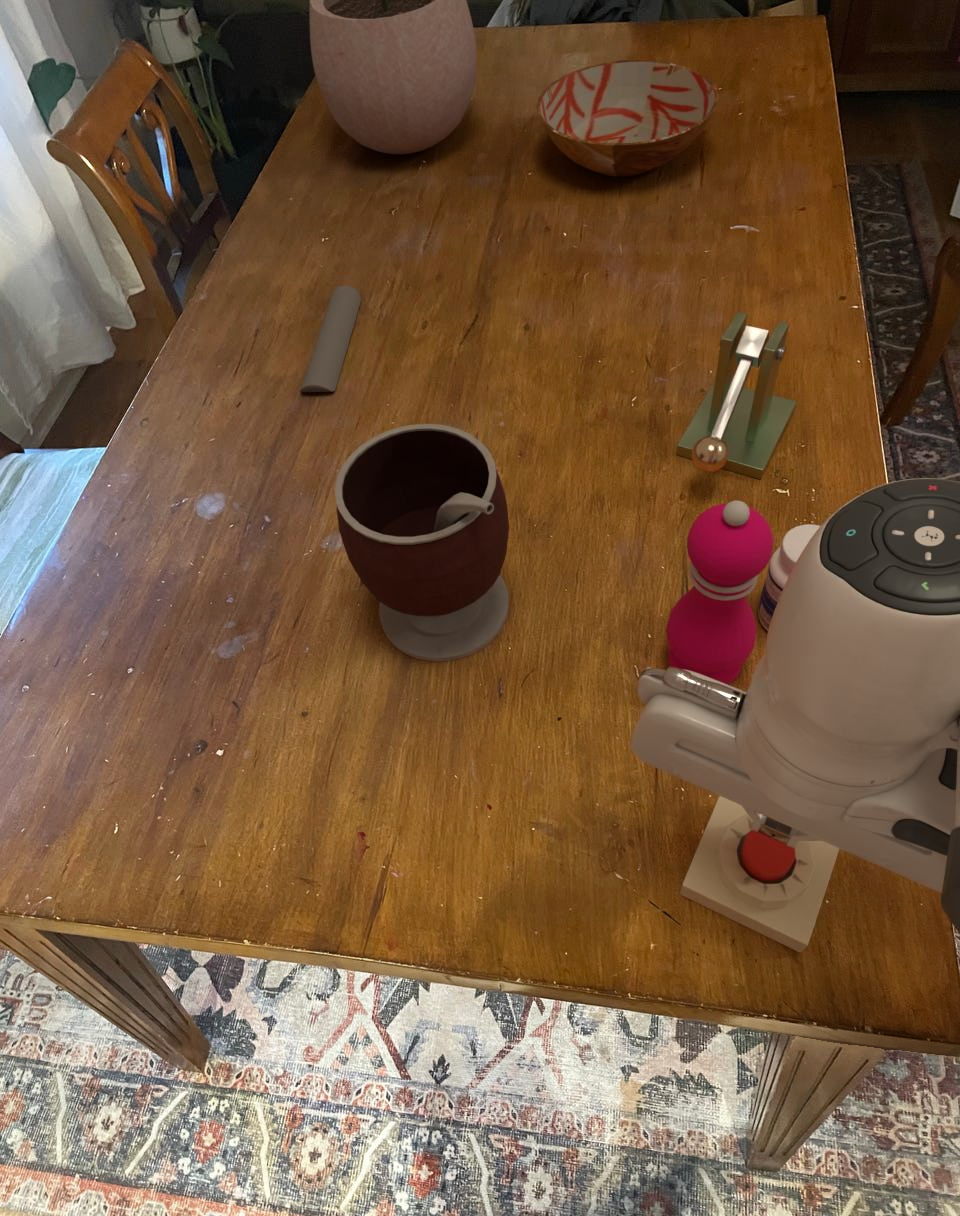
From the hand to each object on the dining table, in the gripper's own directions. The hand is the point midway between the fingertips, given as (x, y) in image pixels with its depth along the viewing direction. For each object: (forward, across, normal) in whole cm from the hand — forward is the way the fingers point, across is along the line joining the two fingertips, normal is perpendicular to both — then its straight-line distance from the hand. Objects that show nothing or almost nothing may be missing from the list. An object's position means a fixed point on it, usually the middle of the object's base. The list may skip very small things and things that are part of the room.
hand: (775, 829), depth 56 cm
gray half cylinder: (+10, -67, +40) cm, 78 cm away
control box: (+9, 0, 0) cm, 9 cm away
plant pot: (+10, -85, +87) cm, 122 cm away
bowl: (+9, -51, +93) cm, 106 cm away
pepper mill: (+9, -10, +16) cm, 21 cm away
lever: (+2, -17, +40) cm, 43 cm away
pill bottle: (+9, -4, +24) cm, 26 cm away
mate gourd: (+10, -33, +11) cm, 36 cm away
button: (+5, 0, 0) cm, 5 cm away
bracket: (+9, -17, +44) cm, 48 cm away
